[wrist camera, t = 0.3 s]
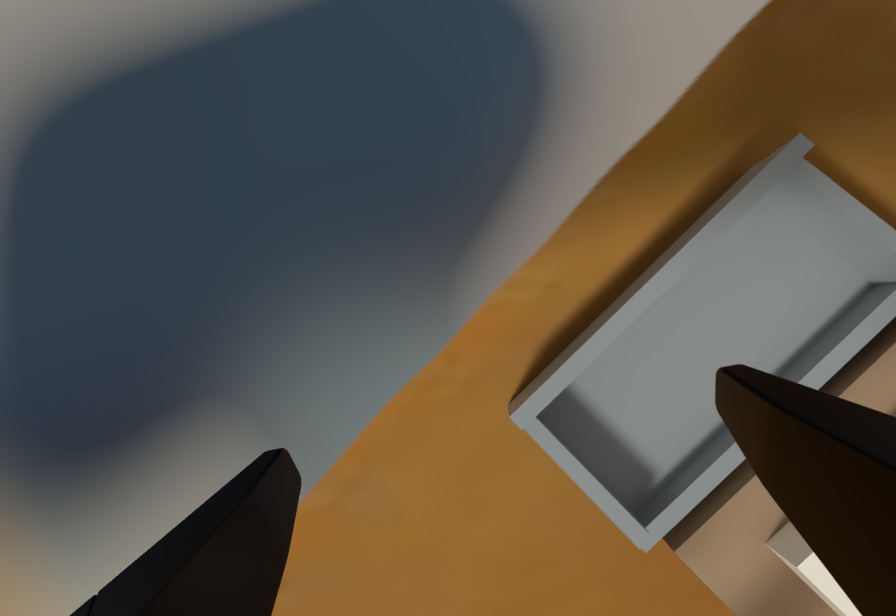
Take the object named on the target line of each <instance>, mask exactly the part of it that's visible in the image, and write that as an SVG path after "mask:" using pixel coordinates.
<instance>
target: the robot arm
mask: <svg viewBox="0 0 896 616" xmlns="http://www.w3.org/2000/svg"><path fill="white" fill-rule="evenodd" d="M715 405H716V409H717V411H718V413H719V415H720V417H721V418H722V420H723V422H724V423H725V425H726V427H727V428H728V430H729V432H730V433H731V435H732V436H733V438H734V440H735V441H736V443H737V445H738V446H739V448H740V450H741V451H742V453H743V454H744V456H745V458H746V459H747V461H748V463H749V464H750V466H751V468H752V469H753V471H754V472H755V474H756V476H757V477H758V479H759V480H760V482H761V483H762V485H763V486H764V487H765V489H766V490H767V492H768V493H769V494H770V496H771V497H772V498H773V500H774V501H775V502H776V504H777V505H778V506H779V507H780V509H781V510H782V511H783V513H784V514H785V515H786V517H787V518H788V519H789V521H790V522H791V523H792V525H793V526H794V527H795V528H796V530H797V531H798V532H799V534H800V535H801V536H802V538H803V539H804V540H805V542H806V543H807V544H808V546H809V547H810V548H811V549H812V551H813V552H814V553H815V555H816V556H817V557H818V559H819V560H820V561H821V563H822V564H823V565H824V567H825V568H826V569H827V570H828V572H829V573H830V574H831V576H832V577H833V578H834V580H835V581H836V582H837V584H838V585H839V586H840V587H841V589H842V590H843V591H844V593H845V594H846V595H847V597H848V598H849V599H850V601H851V602H852V603H853V605H854V606H855V607H856V608H857V610H858V611H859V612H860V614H861V615H862V616H896V417H895V416H892V415H889V414H886V413H883V412H880V411H877V410H874V409H871V408H868V407H866V406H863V405H860V404H857V403H854V402H851V401H848V400H845V399H842V398H839V397H836V396H834V395H831V394H828V393H825V392H822V391H819V390H816V389H813V388H810V387H807V386H805V385H802V384H799V383H796V382H793V381H790V380H787V379H784V378H781V377H778V376H775V375H773V374H770V373H767V372H764V371H761V370H758V369H755V368H752V367H749V366H746V365H743V364H735V365H729V366H724V367H720V368H719V369H718V370H717V371H716V379H715ZM300 490H301V476H300V473H299V471H298V470H297V468H296V466H295V464H294V462H293V460H292V458H291V456H290V454H289V452H288V451H287V450H286V449H284V448H279V449H273V450H268V451H266V452H264V453H263V454H262V455H260V456H259V457H258V458H257V459H256V460H254V461H253V462H252V463H251V464H250V465H248V466H247V467H246V468H245V469H244V470H243V471H241V472H240V473H239V474H238V475H236V476H235V477H234V478H233V479H232V480H230V481H229V482H228V483H227V484H226V485H225V486H223V487H222V488H221V489H220V490H219V491H218V492H216V493H215V494H214V495H213V496H211V497H210V498H209V499H208V500H207V501H206V502H205V503H203V504H202V505H201V506H200V507H199V508H197V509H196V510H195V511H194V512H192V513H191V514H190V515H189V516H188V517H186V518H185V519H184V520H183V521H182V522H181V523H179V524H178V525H177V526H176V527H175V528H173V529H172V530H171V531H170V532H169V533H167V534H166V535H165V536H164V537H163V538H162V539H160V540H159V541H158V542H157V543H156V544H155V545H153V546H152V547H151V548H150V549H148V550H147V551H146V552H145V553H144V554H143V555H141V556H140V557H139V558H138V559H137V560H135V561H134V562H133V563H132V564H131V565H129V566H128V567H127V568H126V569H125V570H123V571H122V572H121V573H120V574H119V575H118V576H116V577H115V578H114V579H113V580H112V581H110V582H109V583H108V584H107V585H106V586H105V587H103V588H102V589H101V590H100V591H99V592H98V595H94V596H92V597H91V598H90V599H89V600H88V601H86V602H85V603H84V604H83V605H82V606H81V607H79V608H78V609H77V610H76V611H75V612H73V613H72V614H71V615H70V616H271V614H272V611H273V607H274V604H275V600H276V597H277V594H278V590H279V587H280V583H281V580H282V576H283V573H284V569H285V565H286V561H287V558H288V553H289V549H290V544H291V539H292V533H293V528H294V522H295V517H296V512H297V506H298V501H299V495H300Z"/></svg>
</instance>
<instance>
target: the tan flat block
mask: <svg viewBox="0 0 896 616" xmlns="http://www.w3.org/2000/svg"><path fill="white" fill-rule="evenodd" d="M819 391H822V392H825V393H828V394H831V395H834V396H836V397H839V398H842V399H845V400H848V401H851V402H854V403H857V404H860V405H863V406H866V407H868V408H871V409H874V410H877V411H880V412H883V413H886V414H889V415H892V416H895V417H896V316H895V317H894V318H893V319H892V320H891V321H890V322H889V323H888V324H887V325H886V326H885V327H884V328H883V329H882V330H881V331H880V332H879V333H878V334H877V335H875V336H874V337H873V338H872V339H871V340H870V341H869V342H868V343H867V344H866V345H865V346H864V347H863V348H862V349H861V350H860V351H859V352H858V353H856V354H855V355H854V356H853V357H852V358H851V359H850V360H849V361H848V362H847V363H846V364H845V365H844V366H843V367H842V368H841V369H840V370H839V371H838V372H836V373H835V374H834V375H833V376H832V377H831V378H830V379H829V380H828V381H827V382H826V383H825V384H824V385H823V386H822V387H821V388H820V389H819ZM788 522H789V519H788V518H787V517H786V515H785V514H784V513H783V511H782V510H781V509H780V507H779V506H778V505H777V504H776V502H775V501H774V500H773V498H772V497H771V496H770V494H769V493H768V492H767V490H766V489H765V487H764V486H763V485H762V483H761V482H760V480H759V479H758V477H757V476H756V474H755V472H754V471H753V469H752V468H751V466H750V464H749V463H748V461H747V459H745V460H744V461H743V462H742V463H741V464H739V465H738V466H737V467H736V468H735V469H734V470H733V471H732V472H731V473H730V474H729V475H728V476H727V477H726V478H725V479H724V480H723V481H722V482H721V483H719V484H718V485H717V486H716V487H715V488H714V489H713V490H712V491H711V492H710V493H709V494H708V495H707V496H706V497H705V498H704V499H703V500H702V501H701V502H699V503H698V504H697V505H696V506H695V507H694V508H693V509H692V510H691V511H690V512H689V513H688V514H687V515H686V516H685V517H684V518H683V519H682V520H680V521H679V522H678V523H677V524H676V525H675V526H674V527H673V528H672V529H671V530H670V531H669V532H668V533H667V534H666V535H665V536H664V537H663V539H664V540H665V542H666V543H667V544H668V545H669V546H670V548H671V549H672V550H673V551H674V552H675V553H676V554H677V555H678V556H679V557H680V559H681V560H682V561H683V562H684V563H685V564H686V565H687V566H688V567H689V568H690V569H691V570H692V571H693V572H694V573H695V574H696V575H697V576H698V577H699V578H700V579H701V580H702V581H703V582H704V583H705V584H706V585H707V586H708V587H709V588H710V589H711V590H712V591H713V592H714V593H715V594H716V595H717V596H718V597H719V598H720V599H721V600H722V601H723V602H724V604H725V605H726V606H727V607H728V608H729V609H730V610H731V611H732V612H733V613H734V614H735V615H736V616H839V615H838V614H837V613H836V612H835V611H834V610H833V609H832V608H831V607H830V606H829V605H828V604H827V603H826V602H825V601H824V600H823V599H822V598H820V597H819V596H818V595H817V594H816V593H815V592H814V591H813V590H812V589H811V588H810V587H809V586H808V585H807V584H806V583H805V582H804V581H803V580H802V579H801V578H800V577H799V576H798V575H797V574H796V573H795V572H794V571H793V570H792V569H791V568H790V567H789V566H788V565H787V564H786V563H785V562H784V561H783V560H782V559H781V558H780V557H778V556H777V555H776V554H775V553H774V552H773V551H772V550H771V549H770V548H769V547H768V546H767V545H766V543H767V542H768V541H769V540H770V539H771V538H772V537H773V536H774V535H775V534H776V533H777V532H778V531H779V530H780V529H782V528H783V527H784V526H785V525H786V524H787V523H788Z"/></svg>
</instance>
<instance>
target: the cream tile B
mask: <svg viewBox="0 0 896 616" xmlns="http://www.w3.org/2000/svg"><path fill="white" fill-rule="evenodd" d="M766 545H767V546H768V547H769V548H770V549H771V550H772V551H773V552H774V553H775V554H776V555H777V556H778V557H780V558H781V559H782V560H783V561H784V562H785V563H786V564H787V565H788V566H789V567H790V568H791V569H792V570H793V571H794V572H795V573H796V574H797V575H798V576H799V577H800V578H801V579H802V580H803V581H804V582H805V583H806V584H807V585H808V586H809V587H810V588H811V589H812V590H813V591H814V592H815V593H816V594H817V595H818V596H819V597H820V598H822V599H823V600H824V601H825V602H826V603H827V604H828V605H829V606H830V607H831V608H832V609H833V610H834V611H835V612H836V613H837V614H838V615H839V616H862V615H861V614H860V612H859V611H858V610H857V608H856V607H855V606H854V605H853V603H852V602H851V601H850V599H849V598H848V597H847V595H846V594H845V593H844V591H843V590H842V589H841V587H840V586H839V585H838V584H837V582H836V581H835V580H834V578H833V577H832V576H831V574H830V573H829V572H828V570H827V569H826V568H825V567H824V565H823V564H822V563H821V561H820V560H819V559H818V557H817V556H816V555H815V553H814V552H813V551H812V549H811V548H810V547H809V546H808V544H807V543H806V542H805V540H804V539H803V538H802V536H801V535H800V534H799V532H798V531H797V530H796V528H795V527H794V526H793V525H792V523H791V522H790V521H789V522H788V523H787V524H786V525H785V526H784V527H783V528H782V529H780V530H779V531H778V532H777V533H776V534H775V535H774V536H773V537H772V538H771V539H770V540H769V541H768V542H767V543H766Z"/></svg>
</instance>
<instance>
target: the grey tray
mask: <svg viewBox="0 0 896 616" xmlns="http://www.w3.org/2000/svg"><path fill="white" fill-rule="evenodd" d="M814 145H815V143H813V142H812V141H811V140H809V139H808V138H807V137H806V136H804V135H803V134H802V133H799V134H798V135H796V136H795V137H794V138H792V139H791V140H789V141H788V142H787V143H785V144H784V145H782V146H781V147H780V148H778V149H777V150H775V151H774V152H773V153H771V154H770V155H768V156H767V157H766V158H764V159H763V160H761V161H760V162H759V163H757V164H756V165H754V166H753V167H752V168H750V169H749V170H748V171H747V172H746V173H745V174H744V175H742V176H741V177H740V178H739V179H738V180H737V181H736V182H735V183H734V184H733V185H732V186H731V187H730V188H729V189H728V190H727V191H726V192H725V193H724V194H723V195H722V196H721V197H720V198H719V199H718V200H717V201H716V202H715V203H714V204H713V205H712V206H711V207H710V208H709V209H708V210H707V211H706V212H705V213H704V214H703V215H702V216H701V217H700V218H699V219H697V220H696V221H695V222H694V223H693V224H692V225H691V226H690V227H689V228H688V229H687V230H686V231H685V232H684V233H683V234H682V235H681V236H680V237H679V238H678V239H677V240H676V241H675V242H674V243H673V244H672V245H671V246H670V247H669V248H668V249H667V250H666V251H665V252H664V253H663V254H662V255H661V256H660V257H659V258H658V259H657V260H656V261H655V262H654V263H653V264H651V265H650V266H649V267H648V268H647V269H646V270H645V271H644V272H643V273H642V274H641V275H640V276H639V277H638V278H637V279H636V280H635V281H634V282H633V283H632V284H631V285H630V286H629V287H628V288H627V289H626V290H625V291H624V292H623V293H622V294H621V295H620V296H619V297H618V298H617V299H616V300H615V301H614V302H613V303H612V304H611V305H610V306H609V307H608V308H606V309H605V310H604V311H603V312H602V313H601V314H600V315H599V316H598V317H597V318H596V319H595V320H594V321H593V322H592V323H591V324H590V325H589V326H588V327H587V328H586V329H585V330H584V331H583V332H582V333H581V334H580V335H579V336H578V337H577V338H576V339H575V340H574V341H573V342H572V343H571V344H570V345H569V346H568V347H567V348H566V349H565V350H564V351H563V352H561V353H560V354H559V355H558V356H557V357H556V358H555V359H554V360H553V361H552V362H551V363H550V364H549V365H548V366H547V367H546V368H545V369H544V370H543V371H542V372H541V373H540V374H539V375H538V376H537V377H536V378H535V379H534V380H533V381H532V382H531V383H530V384H529V385H528V386H527V387H526V388H525V389H524V390H523V391H522V392H521V393H520V394H519V395H518V396H516V397H515V398H514V399H513V400H512V401H511V402H510V403H509V404H508V410H509V418H510V419H511V420H512V421H513V422H514V423H515V424H516V425H517V426H518V427H519V428H520V429H521V430H523V429H524V430H525V431H526V432H527V433H528V434H529V435H530V436H531V437H532V438H533V439H534V440H535V441H536V442H537V443H538V444H539V446H540V447H541V448H542V449H543V450H544V451H545V452H546V453H547V454H548V455H549V456H550V457H551V458H552V459H553V460H554V461H555V462H556V463H557V464H558V465H559V466H560V467H561V468H562V469H563V470H564V471H565V473H566V474H567V475H568V476H569V477H570V478H571V479H572V480H573V481H574V482H575V483H576V484H577V485H578V486H579V487H580V488H581V489H582V490H583V491H584V492H585V493H586V494H587V495H588V496H589V497H590V498H591V500H592V501H593V502H594V503H595V504H596V505H597V506H598V507H599V508H600V509H601V510H602V511H603V512H604V513H605V514H606V515H607V516H608V517H609V518H610V519H611V520H612V521H613V522H614V523H615V524H616V525H617V527H618V528H619V529H620V530H621V531H622V532H623V533H624V534H625V535H626V536H627V537H628V538H629V539H630V540H631V541H632V542H633V543H634V544H635V545H636V546H637V547H638V548H639V549H641V548H642V549H643V550H644V551H645V552H646V553H647V552H648V551H649V550H650V549H651V548H652V547H653V546H654V545H655V544H656V543H657V542H658V541H659V540H660V539H662V538H663V537H664V536H665V535H666V534H667V533H668V532H669V531H670V530H671V529H672V528H673V527H674V526H675V525H676V524H677V523H678V522H679V521H680V520H682V519H683V518H684V517H685V516H686V515H687V514H688V513H689V512H690V511H691V510H692V509H693V508H694V507H695V506H696V505H697V504H698V503H699V502H701V501H702V500H703V499H704V498H705V497H706V496H707V495H708V494H709V493H710V492H711V491H712V490H713V489H714V488H715V487H716V486H717V485H718V484H719V483H721V482H722V481H723V480H724V479H725V478H726V477H727V476H728V475H729V474H730V473H731V472H732V471H733V470H734V469H735V468H736V467H737V466H738V465H739V464H741V463H742V462H743V461H744V460H745V459H746V458H745V456H744V454H743V453H742V451H741V450H740V448H739V446H738V445H737V443H736V441H735V440H734V438H733V436H732V435H731V433H730V432H729V430H728V428H727V427H726V425H725V423H724V422H723V420H722V418H721V417H720V415H719V413H718V411H717V409H716V405H715V379H716V371H717V370H718V369H719V368H720V367H724V366H729V365H735V364H743V365H746V366H749V367H752V368H755V369H758V370H761V371H764V372H767V373H770V374H773V375H775V376H778V377H781V378H784V379H787V380H790V381H793V382H796V383H799V384H802V385H805V386H807V387H810V388H813V389H816V390H819V389H820V388H821V387H822V386H823V385H824V384H825V383H826V382H827V381H828V380H829V379H830V378H831V377H832V376H833V375H834V374H835V373H836V372H838V371H839V370H840V369H841V368H842V367H843V366H844V365H845V364H846V363H847V362H848V361H849V360H850V359H851V358H852V357H853V356H854V355H855V354H856V353H858V352H859V351H860V350H861V349H862V348H863V347H864V346H865V345H866V344H867V343H868V342H869V341H870V340H871V339H872V338H873V337H874V336H875V335H877V334H878V333H879V332H880V331H881V330H882V329H883V328H884V327H885V326H886V325H887V324H888V323H889V322H890V321H891V320H892V319H893V318H894V317H895V316H896V230H895V229H894V228H892V227H891V226H890V225H888V224H887V223H886V222H885V221H883V220H882V219H881V218H880V217H878V216H877V215H876V214H874V213H873V212H872V211H871V210H869V209H868V208H867V207H866V206H864V205H863V204H862V203H860V202H859V201H858V200H857V199H855V198H854V197H853V196H852V195H850V194H849V193H848V192H846V191H845V190H844V189H843V188H841V187H840V186H839V185H838V184H836V183H835V182H834V181H832V180H831V179H830V178H829V177H827V176H826V175H825V174H824V173H822V172H821V171H820V170H818V169H817V168H816V167H815V166H813V165H812V164H811V163H810V162H808V161H807V160H806V159H804V158H803V156H804V155H805V154H806V153H807V152H808V151H809V150H810V149H811V148H812V147H813V146H814Z"/></svg>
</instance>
